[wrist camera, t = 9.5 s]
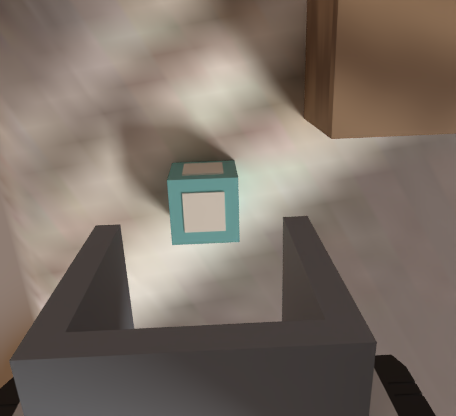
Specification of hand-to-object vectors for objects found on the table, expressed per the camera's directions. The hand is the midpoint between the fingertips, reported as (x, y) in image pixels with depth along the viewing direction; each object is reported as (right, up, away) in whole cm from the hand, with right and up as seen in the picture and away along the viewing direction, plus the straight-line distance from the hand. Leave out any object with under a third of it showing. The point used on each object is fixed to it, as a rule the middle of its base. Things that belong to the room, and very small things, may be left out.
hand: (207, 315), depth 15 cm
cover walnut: (+9, +13, +11) cm, 19 cm away
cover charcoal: (0, 0, 0) cm, 0 cm away
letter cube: (-1, +5, +13) cm, 14 cm away
